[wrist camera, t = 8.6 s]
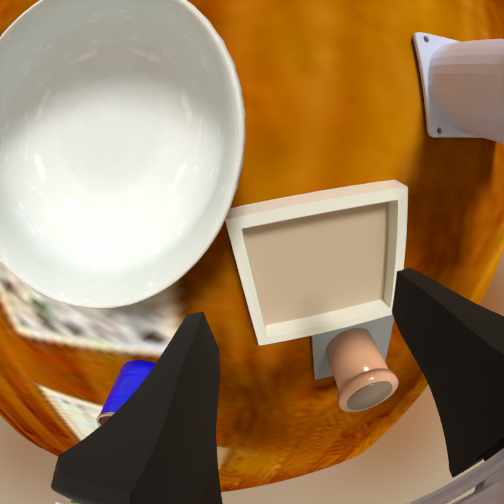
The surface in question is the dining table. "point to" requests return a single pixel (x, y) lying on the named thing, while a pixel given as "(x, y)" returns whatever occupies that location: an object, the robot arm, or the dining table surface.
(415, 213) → the dining table surface
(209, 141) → the cereal bowl
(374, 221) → the square beige tray
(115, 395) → the hyacinth
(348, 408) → the pot
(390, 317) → the coaster
